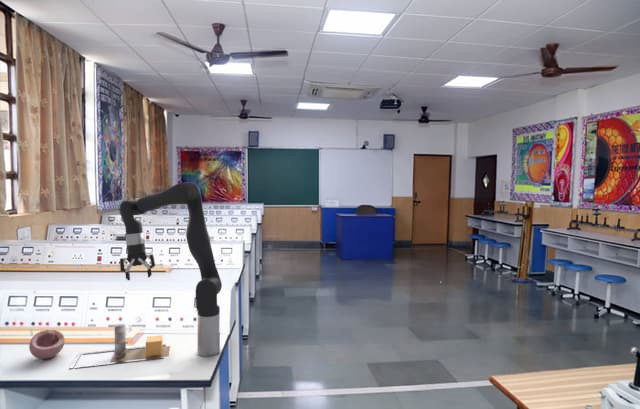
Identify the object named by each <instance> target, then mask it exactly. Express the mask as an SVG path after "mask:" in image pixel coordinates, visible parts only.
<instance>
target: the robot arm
mask: <svg viewBox="0 0 640 409" xmlns="http://www.w3.org/2000/svg"><path fill="white" fill-rule="evenodd" d="M168 205H169V206H170V205H186V206H187V210H188V219H187V220H188V222H187V226H186V231H185V238H186V242H187V247H188V249H189V252H190V253H191V254H190V255H192V257H193V259H194V260H195V262H196V263H197V265H198V268H199V273H200V277H201V278H200V279H201V280H200V281H199V282H197V284H196V287H195V308H196V311H197V346H196V347H197V348H196V349H197V354H198V356H200V357H211V356H212V357H213V356H215V355H219V354H220V353H221V352H220V351H221V330H220V318H221V317H220V314H221V313H220V306H219V305H218V294H219V293H220V292H221V290H222V285H223V284H222V280H221V278H220V274H219V272H218V268H217V266H216V262H215V258H214V257H215V256H214V253H213V249H212V244H211V239H210V235H209V232H208V228H207V224H206V219H205V215H204V207H203V200H202V193H201V190H200V186H198V184H197V183H195V182H194V181H186V182H179V183H176V184H174V185H173V186H171V187H169V188H167V189H165V190H163V191H160V192H159V191H158V192H155V193H152V194H148V195H144V196H142V197H140V198H138V199H130V200H129V199H126V200H122V201H121V202H120V204H119V207H118V211H119V214H120V216H121V219H122V222H123V224H124V228H125V244H126V245H125V246H126V253H127V254H126V255H127V257H121V258H119V266H120V267H119V268H120V272H123V273H125V279H126V280H127V281H131V274H130V269H131V268H132V267H137V266H142V265H143V266H144V267H145V268H146V269H147V278H148V279H149V278H151V277H152V268H154V267H156V263H155V257H154V256H155V255H154V254H153V253H151V254H147V253H146V245H145V242H146V240H145V236H144V231H143V222H142V221H141V220H137V219H135V216H140V215H143V214H145V213H147V212H152V211H155V210H158V209H161V208H163V207H165V206H168ZM147 259H149V260H150V264H149V263H148V262H147V261H146V260H147ZM126 261H127V262H128V263H129V264H128V265H127V267H126V268H125V263H126Z"/></svg>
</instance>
